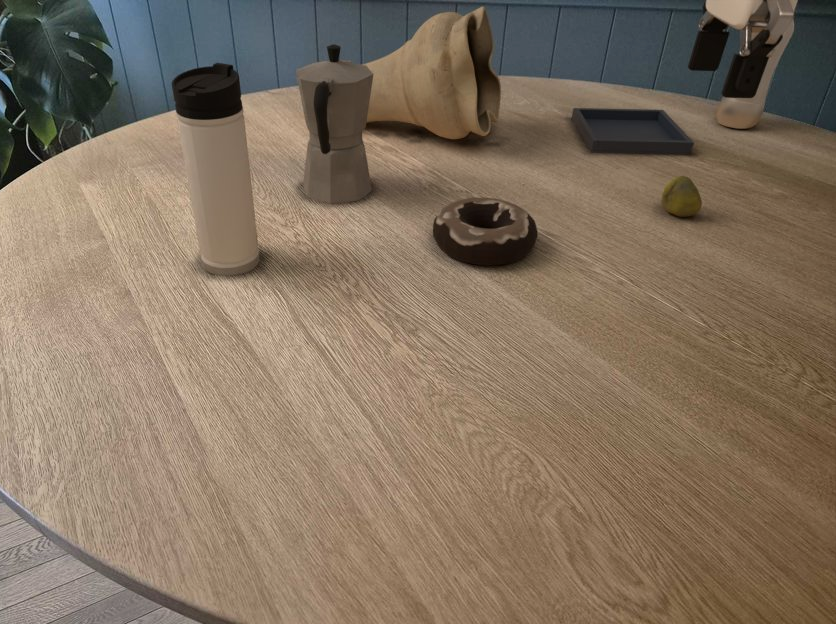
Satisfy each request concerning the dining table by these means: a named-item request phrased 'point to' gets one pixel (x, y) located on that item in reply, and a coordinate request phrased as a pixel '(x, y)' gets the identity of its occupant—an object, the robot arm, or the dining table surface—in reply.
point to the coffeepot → (335, 128)
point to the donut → (485, 231)
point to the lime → (681, 197)
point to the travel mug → (217, 167)
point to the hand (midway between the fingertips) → (718, 82)
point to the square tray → (630, 131)
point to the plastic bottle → (751, 109)
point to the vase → (440, 78)
